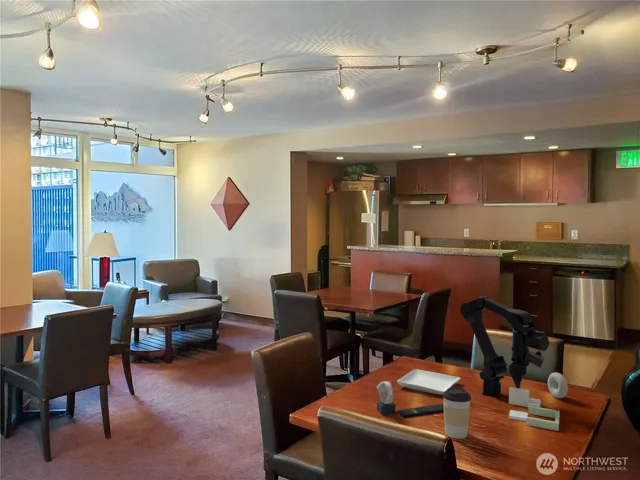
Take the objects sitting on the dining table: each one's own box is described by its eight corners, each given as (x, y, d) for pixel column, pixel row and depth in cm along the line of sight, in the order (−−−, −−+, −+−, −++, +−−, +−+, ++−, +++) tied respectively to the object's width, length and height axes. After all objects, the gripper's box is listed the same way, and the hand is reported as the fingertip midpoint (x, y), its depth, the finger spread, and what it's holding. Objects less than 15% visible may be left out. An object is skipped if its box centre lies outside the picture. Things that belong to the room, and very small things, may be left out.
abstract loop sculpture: (388, 406, 185) (388, 378, 185) (397, 414, 178) (398, 385, 177) (374, 408, 184) (375, 379, 183) (383, 416, 176) (383, 386, 176)
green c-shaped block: (526, 424, 170) (526, 417, 170) (529, 412, 181) (529, 405, 181) (558, 430, 165) (558, 423, 165) (559, 417, 176) (559, 410, 176)
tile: (508, 419, 175) (508, 415, 175) (510, 413, 181) (510, 409, 181) (526, 422, 173) (527, 418, 173) (527, 416, 178) (527, 412, 178)
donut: (569, 401, 192) (570, 376, 191) (561, 402, 191) (562, 377, 191) (553, 392, 201) (553, 368, 201) (545, 393, 201) (546, 369, 200)
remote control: (396, 413, 180) (396, 410, 180) (452, 405, 188) (452, 402, 188) (404, 419, 175) (404, 415, 175) (460, 410, 183) (460, 407, 183)
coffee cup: (438, 428, 166) (439, 385, 166) (464, 427, 167) (465, 384, 166) (447, 440, 157) (448, 394, 157) (474, 439, 158) (475, 394, 157)
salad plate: (461, 384, 212) (461, 376, 212) (445, 399, 194) (445, 391, 194) (414, 375, 223) (414, 368, 223) (395, 389, 205) (396, 381, 205)
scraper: (508, 405, 187) (508, 390, 187) (510, 399, 194) (510, 384, 193) (539, 411, 182) (539, 395, 182) (540, 404, 189) (540, 389, 188)
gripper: (542, 353, 176) (540, 396, 177) (544, 341, 192) (543, 380, 193) (509, 349, 181) (507, 390, 182) (514, 338, 197) (513, 376, 198)
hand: (519, 384), depth 189 cm, fingers open, 9 cm apart
